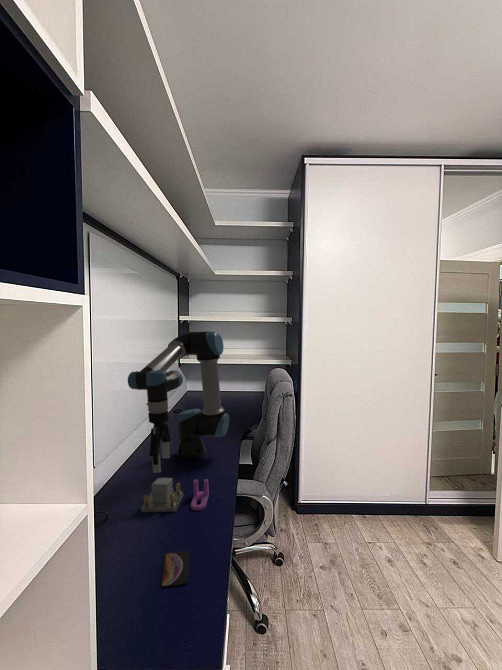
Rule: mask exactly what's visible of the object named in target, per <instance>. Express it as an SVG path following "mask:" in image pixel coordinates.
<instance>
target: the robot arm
mask: <svg viewBox="0 0 502 670" xmlns="http://www.w3.org/2000/svg"><path fill="white" fill-rule="evenodd" d="M223 353H224V340H223V338H222V336H221V335H220V333H219V332H217V331H208V330H207V331H189V332H185V333H183V334H180V335H178V336H177V337H175V338H174V339H173V340H171V341H170V342H169V343H168V344H167V347H165V349H164V350H163V351H161V352H160V353H159V354H158V355H157V356H156V357H155V358H153V359H152V360H151V361H149V363H148V364H146V366H144V367H143V368H142V369H141V370H139V371H138V370H137V371H131V372H130V373H129V374H128V377H127V385H128V387H129V388H130V389H131V390H138V391H140V390H141V391H146V393H147V394H146V395H147V402H146V406H147V410H148V411H147V412H148V422H149V423H151V424H153V428H151V429H150V434H151V435H150V445H149V454H148V455H149V457H151V459H152V460H151V461H152V473H153V474H155V473H161V472H162V470H161V468H162V467H161V455H162V459H170V458H171V457H170V442H171V441H172V439H171V435H170V429H169V427H168V425H169V424H168V421H169V419H170V418H169V417H170V415H169V414H170V413H169V411H168V410H169V400H168V393H169V392H171V391H173V390H176V389H179V388H180V387H181V386H182V385H183V383H184V382H183V381H184V378H183V375H182V373H181V372H180V371H178V370H177V369H176V370H175V369H174V370H169V371H167V370H168V369H170V368H171V367H172V366H173V364H175V363H176V362H177V361H178V360H179V359H182V358H184V357H185V356H196V360H197V361H198V362H199V363H200V365H199V366H200V374H201V375H200V376H201V385H202V386H201V387H202V397H203V398H202V399H203V406H204V407H203V409H202V410H201V409H200V408H191V409H186V410H183V411H181V412H179V413H178V435H179V441H178V446H177V450H176V456H178V457H177V458H179V459H183V460H194V459H199V458H201V457H203V456H205V455H206V454H207V447H206V446H205V443H204V440H203V436H204V437H214V438H216V437H219V438H221V437H224V436H226V434H227V432H228V430H229V427H230V415H229V413H228V412H227V413H226V412H225V408H224V407H223V406H222V400H221V391H220V390H221V387H220V376H219V364H218V361H219V359H220V358H221V355H222V354H223ZM160 446H161V447H160ZM160 448H161V452H162V454H160Z"/></svg>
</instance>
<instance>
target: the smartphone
mask: <svg viewBox="0 0 502 670" xmlns="http://www.w3.org/2000/svg"><path fill="white" fill-rule="evenodd" d="M189 570H190V551H188V550H183V551H182V550H181V551H174V552H173V551H172V552H169V553H165V555H164V558H163V566H162V570H161V571H162V572H161V579H160V588H161V589H167V588H168V587H169V588H173V587H175V586H177V587H184V586H187V585H188V583H189V573H190V571H189ZM169 588H168V589H169Z"/></svg>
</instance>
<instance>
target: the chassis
mask: <svg viewBox="0 0 502 670" xmlns="http://www.w3.org/2000/svg"><path fill="white" fill-rule="evenodd" d="M152 484H153V483H151V486H152ZM175 488H176V491H173V494H172V495H170V500H169V501H168V503H156V502H153V494H152V491H151V492H150V494H149V495H148V494H144V495H143V505H142V506H141V508H140V511H141V513H167V512H170V513H171V512H177V510H178V508H179V505H180V504H181V501H182V499H183V497H184V491H182V490H181V483H180V482H176V483H175Z"/></svg>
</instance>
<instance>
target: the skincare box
mask: <svg viewBox="0 0 502 670" xmlns="http://www.w3.org/2000/svg"><path fill="white" fill-rule="evenodd" d="M151 484H152V485H151V492H152V494H153V502H156V503H168V501H169V500H170V495H172V494H173V492H174V485H173V478H172V477H158V478H157V479H156V480H154V482H152V483H151Z"/></svg>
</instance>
